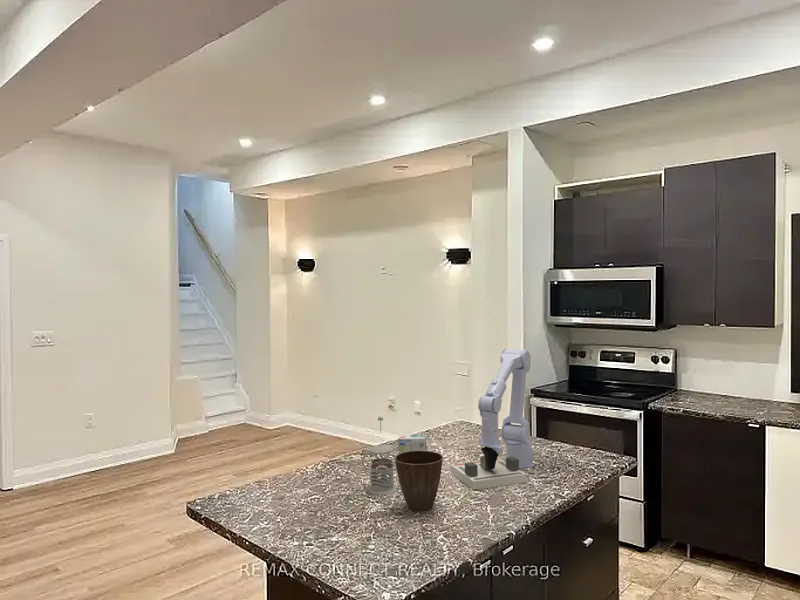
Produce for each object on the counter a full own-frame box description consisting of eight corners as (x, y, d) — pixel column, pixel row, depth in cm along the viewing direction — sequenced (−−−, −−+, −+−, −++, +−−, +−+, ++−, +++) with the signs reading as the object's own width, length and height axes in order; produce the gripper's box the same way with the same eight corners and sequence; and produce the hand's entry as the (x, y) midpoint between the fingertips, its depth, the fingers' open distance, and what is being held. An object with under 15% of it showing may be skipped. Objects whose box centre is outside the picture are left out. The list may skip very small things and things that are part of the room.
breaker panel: (499, 466, 225) (498, 447, 224) (526, 482, 206) (525, 462, 205) (450, 472, 218) (449, 454, 218) (473, 490, 199) (473, 469, 199)
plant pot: (389, 503, 189) (388, 453, 189) (432, 496, 195) (431, 448, 194) (406, 520, 175) (405, 466, 175) (452, 512, 181) (450, 460, 180)
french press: (393, 495, 197) (391, 420, 196) (359, 493, 199) (357, 419, 198) (399, 485, 206) (397, 413, 206) (367, 483, 209) (365, 413, 208)
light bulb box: (427, 461, 234) (426, 433, 233) (426, 466, 227) (425, 438, 227) (400, 460, 235) (399, 433, 234) (398, 466, 228) (397, 438, 228)
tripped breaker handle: (488, 465, 214) (487, 456, 214) (493, 469, 211) (492, 459, 210) (480, 466, 213) (480, 457, 213) (485, 470, 210) (485, 460, 210)
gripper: (471, 426, 214) (471, 463, 214) (489, 436, 200) (490, 476, 201) (488, 424, 216) (489, 461, 217) (508, 433, 202) (508, 473, 203)
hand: (491, 468), depth 209 cm, fingers closed
